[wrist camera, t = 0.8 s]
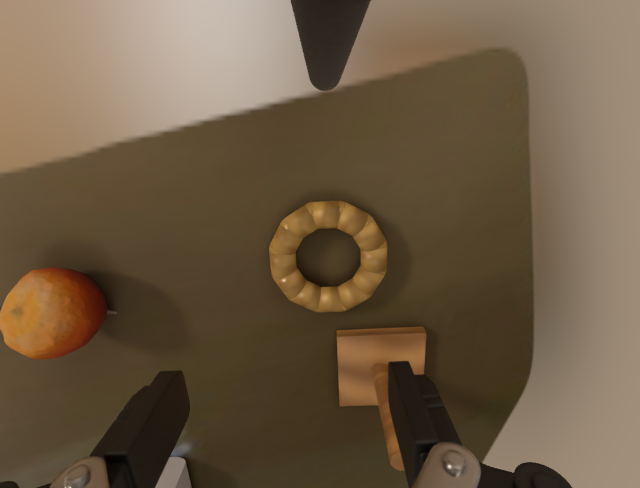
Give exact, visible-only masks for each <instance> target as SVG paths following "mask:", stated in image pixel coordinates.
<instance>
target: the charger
mask: <svg viewBox="0 0 640 488" xmlns="http://www.w3.org/2000/svg"><path fill="white" fill-rule="evenodd" d="M155 488H192V487H191V483H190V478H189V474H188V470H187V466H186V461H185V460H184V459H183V458H180V457H169V459H168V462H167V464H166V466H165V468H164V470H163V472H162V474H161V476H160V479H159V481H158V483H157V485H156V487H155Z"/></svg>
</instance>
